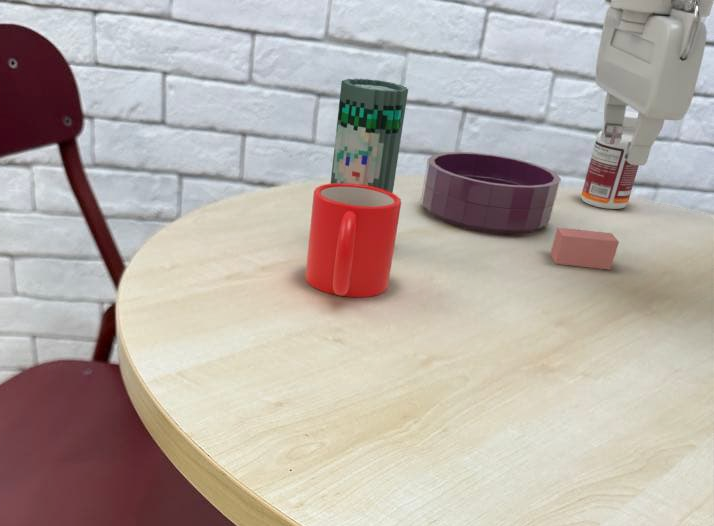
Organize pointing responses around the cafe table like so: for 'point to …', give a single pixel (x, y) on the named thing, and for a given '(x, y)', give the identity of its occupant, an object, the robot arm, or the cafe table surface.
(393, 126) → the can
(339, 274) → the mug
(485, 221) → the bowl
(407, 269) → the cafe table surface
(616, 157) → the pill bottle
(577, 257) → the eraser
